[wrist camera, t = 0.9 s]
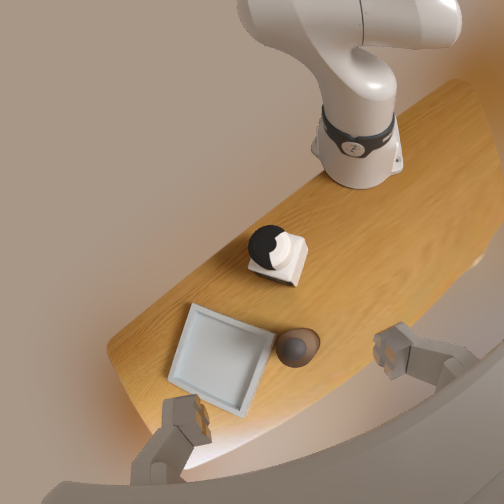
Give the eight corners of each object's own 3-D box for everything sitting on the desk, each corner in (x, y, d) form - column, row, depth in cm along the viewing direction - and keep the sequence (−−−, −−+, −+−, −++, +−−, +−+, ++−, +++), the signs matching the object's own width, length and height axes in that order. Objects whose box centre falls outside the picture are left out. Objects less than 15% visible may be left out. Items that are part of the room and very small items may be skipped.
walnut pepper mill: (296, 324, 47) (281, 324, 34) (324, 333, 45) (320, 336, 32) (286, 352, 46) (268, 361, 33) (314, 361, 44) (306, 374, 32)
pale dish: (198, 304, 53) (192, 302, 50) (277, 333, 47) (274, 334, 45) (173, 378, 50) (167, 380, 48) (247, 414, 45) (243, 418, 42)
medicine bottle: (258, 276, 51) (235, 261, 39) (271, 239, 52) (252, 214, 41) (296, 288, 48) (284, 276, 37) (309, 249, 49) (300, 226, 38)
